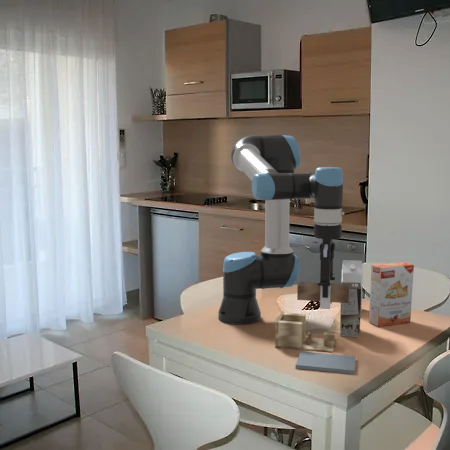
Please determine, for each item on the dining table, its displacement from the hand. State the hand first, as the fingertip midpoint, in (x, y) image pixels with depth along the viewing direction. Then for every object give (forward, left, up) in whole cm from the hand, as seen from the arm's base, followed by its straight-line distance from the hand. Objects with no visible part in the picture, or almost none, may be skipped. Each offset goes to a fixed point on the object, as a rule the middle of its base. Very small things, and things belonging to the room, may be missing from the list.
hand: (326, 305), depth 166 cm
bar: (-1, 0, +2) cm, 2 cm away
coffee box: (+5, +30, -17) cm, 35 cm away
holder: (-7, +15, -17) cm, 24 cm away
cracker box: (+18, +44, -17) cm, 51 cm away
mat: (0, 0, -17) cm, 17 cm away
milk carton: (+4, +56, -17) cm, 59 cm away
